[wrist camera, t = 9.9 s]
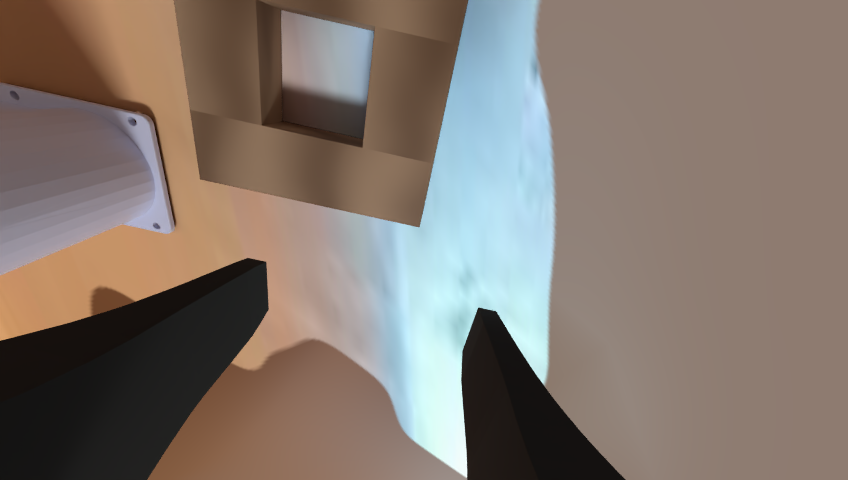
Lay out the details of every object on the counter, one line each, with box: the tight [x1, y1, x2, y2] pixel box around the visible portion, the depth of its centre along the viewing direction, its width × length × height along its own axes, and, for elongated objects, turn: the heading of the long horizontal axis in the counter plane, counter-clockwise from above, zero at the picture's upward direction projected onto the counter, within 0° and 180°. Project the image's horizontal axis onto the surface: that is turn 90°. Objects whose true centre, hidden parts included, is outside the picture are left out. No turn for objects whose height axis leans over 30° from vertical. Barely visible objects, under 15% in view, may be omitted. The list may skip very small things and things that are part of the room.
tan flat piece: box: [174, 0, 468, 227], centre depth 16 cm, size 13×13×2 cm
